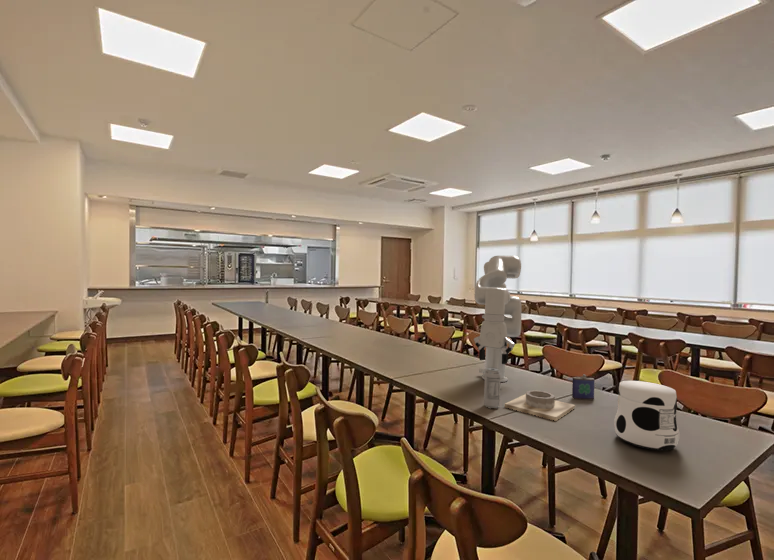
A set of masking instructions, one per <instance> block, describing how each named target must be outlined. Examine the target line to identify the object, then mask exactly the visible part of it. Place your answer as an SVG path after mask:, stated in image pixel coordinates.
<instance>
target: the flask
mask: <svg viewBox="0 0 774 560" xmlns="http://www.w3.org/2000/svg"><path fill="white" fill-rule="evenodd" d="M571 384H572V390H571V391H572V393H571V397H572V399H573V398H575V399H574V400H580V399H594V400H595V378H593V377H587V375H586V374H585V373H584V374H582V376H575V377H574V376H573V377H572V383H571Z"/></svg>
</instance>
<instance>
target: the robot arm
mask: <svg viewBox="0 0 774 560" xmlns="http://www.w3.org/2000/svg"><path fill="white" fill-rule="evenodd" d="M483 272H484V275H482V276H480V278H478V280H477V282H476V283H475V286H474V287H475V289H474V293H473V295H474V300H475V303H476V304H478V305H484V314H482V315H481V318H482V319H484V320H483V321H482V322H481V326H480V333H479V335H478V336H476V337H474V338H473V341H474V344H475V347H476V348H477V350H478V358H479V360H480V361H483V360H484V361H485V365H484V366H485V368H483V367H479V369H478V373H481V374H482V375H481V378H482V379H483V380H484V381H485V372H486V370H487V368H497V369H499V372H500V374H501V376H500V383H505V382H507V381H508V377H507V376H506V375H505V374H506V373H505V372H506V364H508V361H509V354H510V353H511V352H512V351H513V349H514V348H515V345H516V343H515V342H513V340H510V338H518V337H519V336H520V335H521V332H522V300H521V299H520V298H519V296H517V295H516V296H515V295H511V292H510V291H509V290H508V289H507V285H506V281H507V279H518V278H519V277H520V275H521V273H522V262H521V259H520V258H519V257H518V256H516V255H494V256H492V257H491V258H490V259H489V260H488V261H487V262H485V263H484V264H483ZM505 315H506V316H511V317H505ZM509 337H510V338H509ZM508 345H509V346H508Z"/></svg>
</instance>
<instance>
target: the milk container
mask: <svg viewBox="0 0 774 560" xmlns="http://www.w3.org/2000/svg"><path fill="white" fill-rule="evenodd" d="M677 400H678V398H677V391H676V389H674V388H672V387H671V386H666V385H663V384H658V383H655V382H649V381H648V382H647V381H641V380H622V381H620V382H619V386H618V395H617V411H616V413H615V416H614V419H613V425H614V426H613V427H614V432H615V435H617V437H618V438H619V439H620V440H622V441H624V442H625V443H627V444H629V445H633V446H634V447H637V448H642V449H646V450H652V451H662V452H663V451H669V450H673V449H676V447H677V446H678V443H679V440H680V430H679V427H678V422H677V411H678V409H677V408H678V405H677V402H678V401H677Z"/></svg>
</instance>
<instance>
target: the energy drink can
mask: <svg viewBox="0 0 774 560" xmlns="http://www.w3.org/2000/svg"><path fill="white" fill-rule="evenodd" d="M500 376H501V374H500V372H499V369H497V368H487V370H486V372H485V380H484V390H483V393H484V395H483V404H484V407H486V408H487V407H488V409H491V408H496V409H498V408H499V407H500V405H501V403H500V402H501V382H500Z"/></svg>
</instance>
